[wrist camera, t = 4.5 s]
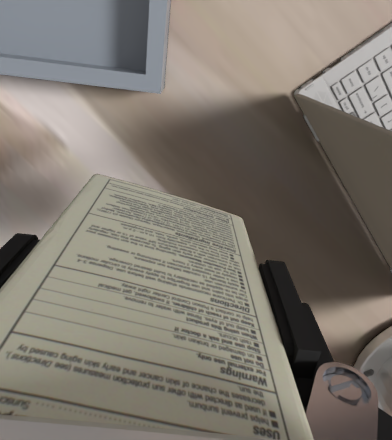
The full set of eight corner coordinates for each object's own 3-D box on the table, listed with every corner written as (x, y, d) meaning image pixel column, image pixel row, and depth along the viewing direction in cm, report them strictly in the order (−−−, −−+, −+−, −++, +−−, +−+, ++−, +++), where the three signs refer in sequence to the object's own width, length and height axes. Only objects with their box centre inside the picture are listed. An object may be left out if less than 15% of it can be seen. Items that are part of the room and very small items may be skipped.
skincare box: (73, 261, 15) (-279, 825, 4) (94, 167, 13) (-418, 695, 2) (216, 302, 16) (253, 869, 5) (253, 218, 14) (444, 795, 3)
